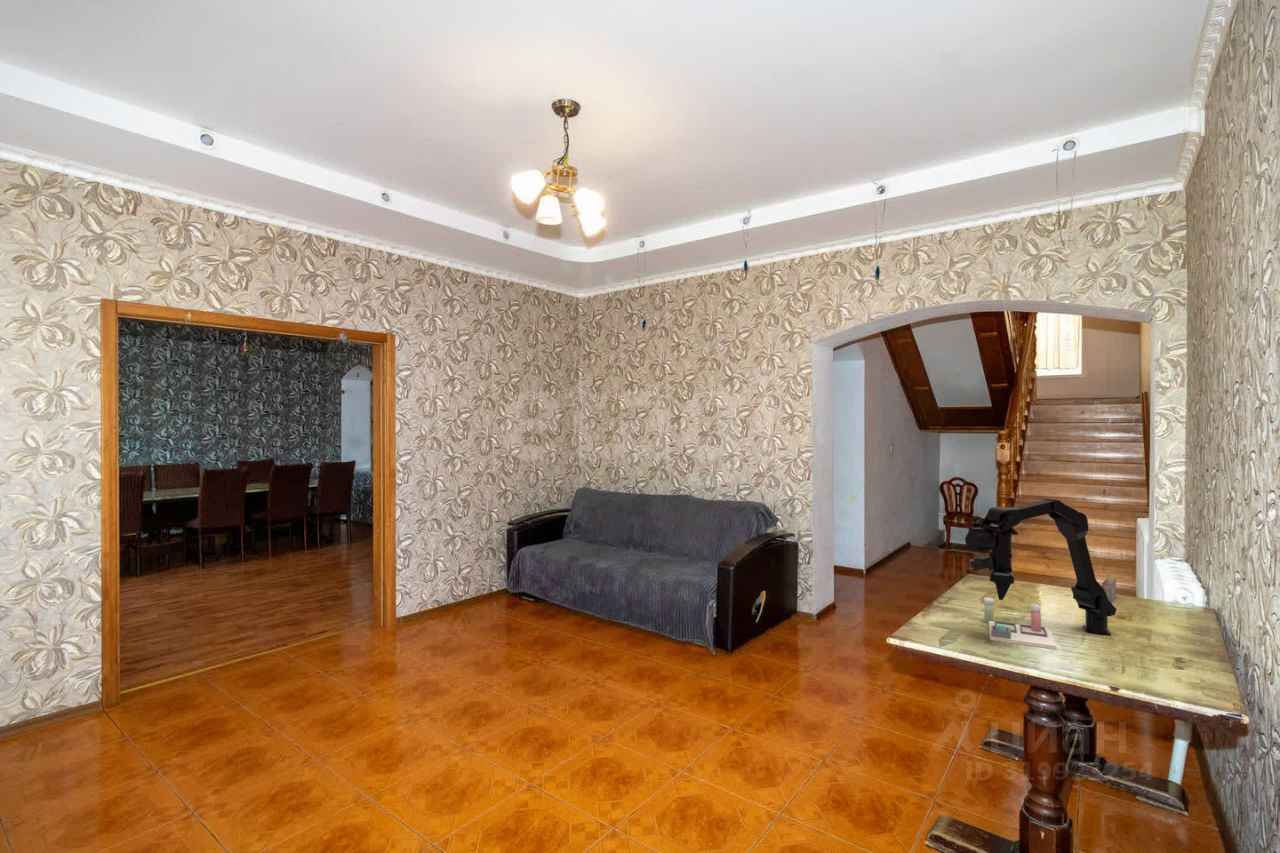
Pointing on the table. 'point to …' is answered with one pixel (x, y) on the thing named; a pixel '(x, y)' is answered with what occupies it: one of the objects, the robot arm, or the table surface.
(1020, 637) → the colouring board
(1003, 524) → the robot arm
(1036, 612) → the rose marker
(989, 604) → the sage marker
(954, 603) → the table surface
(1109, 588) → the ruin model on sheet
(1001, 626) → the button
